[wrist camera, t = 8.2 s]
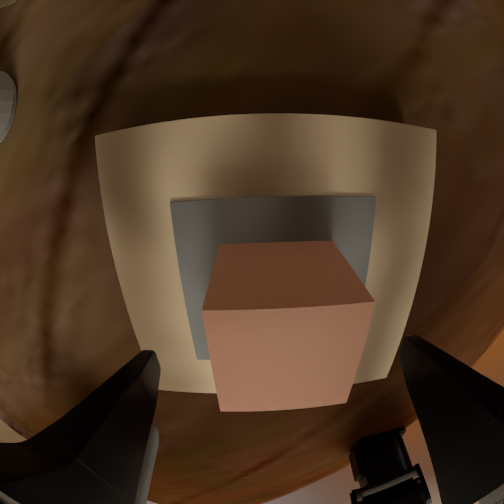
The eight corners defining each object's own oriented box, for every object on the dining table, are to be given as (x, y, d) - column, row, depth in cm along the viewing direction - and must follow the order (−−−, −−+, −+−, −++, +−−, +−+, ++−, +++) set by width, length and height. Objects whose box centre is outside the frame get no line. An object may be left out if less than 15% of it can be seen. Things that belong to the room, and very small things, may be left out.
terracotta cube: (332, 240, 12) (375, 301, 7) (322, 329, 14) (346, 402, 9) (219, 244, 12) (201, 310, 7) (228, 333, 14) (220, 411, 9)
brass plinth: (406, 129, 13) (438, 130, 10) (373, 350, 19) (387, 379, 16) (121, 134, 13) (92, 135, 10) (166, 360, 19) (156, 391, 16)
